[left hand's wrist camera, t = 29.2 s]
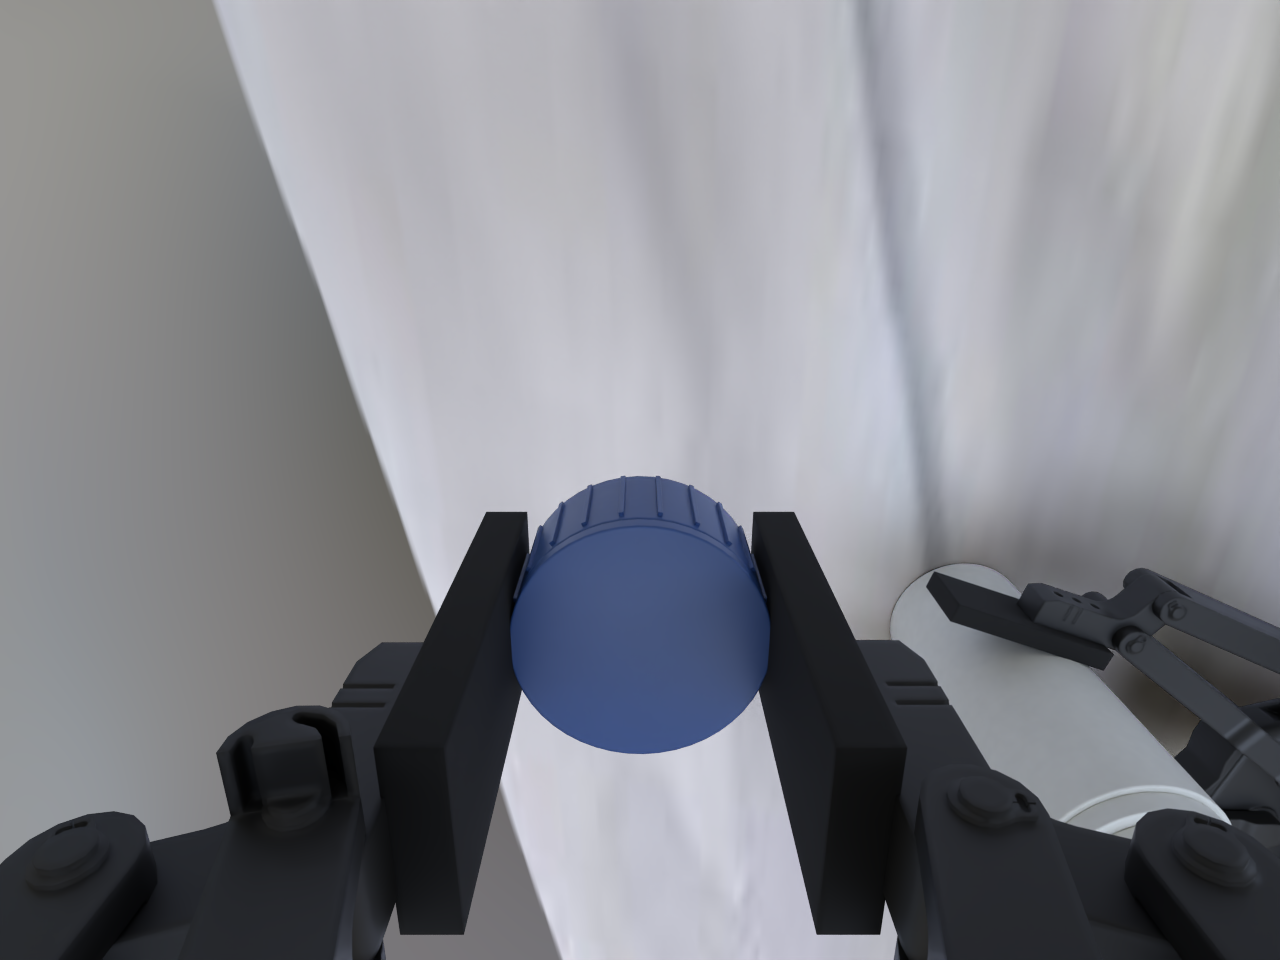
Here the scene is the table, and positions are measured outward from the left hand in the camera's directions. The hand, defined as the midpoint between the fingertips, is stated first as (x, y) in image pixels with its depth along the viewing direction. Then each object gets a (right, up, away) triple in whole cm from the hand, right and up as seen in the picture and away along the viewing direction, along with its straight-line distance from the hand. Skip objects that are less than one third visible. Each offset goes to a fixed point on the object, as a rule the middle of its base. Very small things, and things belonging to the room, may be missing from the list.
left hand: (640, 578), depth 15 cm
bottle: (+15, -5, +23) cm, 28 cm away
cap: (0, -1, -2) cm, 2 cm away
